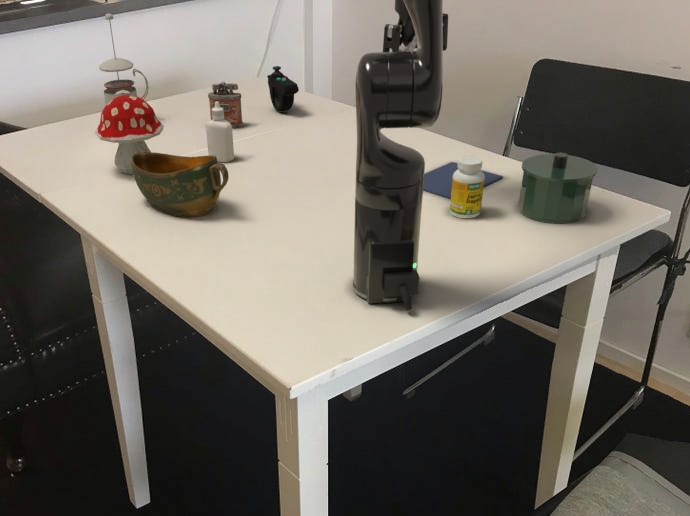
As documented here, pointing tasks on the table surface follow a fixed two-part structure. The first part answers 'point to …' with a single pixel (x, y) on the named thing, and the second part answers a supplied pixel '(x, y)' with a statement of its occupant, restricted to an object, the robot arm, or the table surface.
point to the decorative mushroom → (128, 128)
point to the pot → (554, 199)
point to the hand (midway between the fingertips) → (413, 83)
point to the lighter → (227, 102)
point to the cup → (179, 182)
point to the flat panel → (449, 179)
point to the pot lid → (559, 167)
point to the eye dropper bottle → (219, 136)
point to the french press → (118, 85)
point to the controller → (281, 90)
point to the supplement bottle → (467, 188)
